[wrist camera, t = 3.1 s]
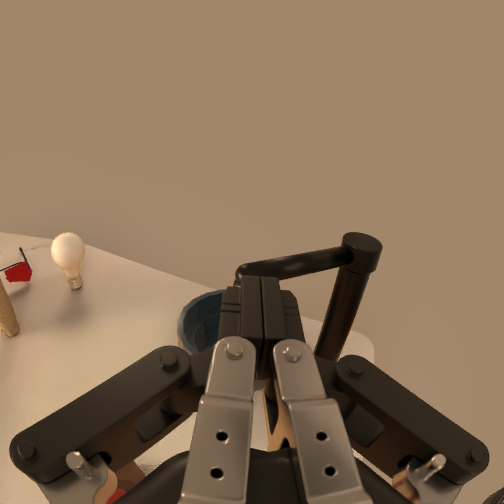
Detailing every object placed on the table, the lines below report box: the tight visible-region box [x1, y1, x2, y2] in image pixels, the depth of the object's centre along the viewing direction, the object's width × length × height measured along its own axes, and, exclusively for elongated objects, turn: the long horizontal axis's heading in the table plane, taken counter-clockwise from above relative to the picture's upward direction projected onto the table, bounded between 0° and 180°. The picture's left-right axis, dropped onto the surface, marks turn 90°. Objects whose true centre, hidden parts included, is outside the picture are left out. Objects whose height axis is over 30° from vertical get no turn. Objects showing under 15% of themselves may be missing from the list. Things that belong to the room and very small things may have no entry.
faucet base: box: [313, 266, 370, 362], centre depth 33 cm, size 6×6×18 cm
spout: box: [233, 232, 382, 287], centre depth 27 cm, size 15×4×8 cm, turn 116°
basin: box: [177, 290, 264, 392], centre depth 39 cm, size 15×15×6 cm
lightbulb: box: [51, 232, 85, 289], centre depth 46 cm, size 6×6×11 cm
